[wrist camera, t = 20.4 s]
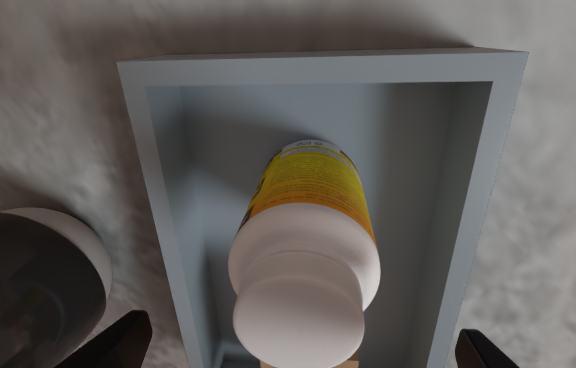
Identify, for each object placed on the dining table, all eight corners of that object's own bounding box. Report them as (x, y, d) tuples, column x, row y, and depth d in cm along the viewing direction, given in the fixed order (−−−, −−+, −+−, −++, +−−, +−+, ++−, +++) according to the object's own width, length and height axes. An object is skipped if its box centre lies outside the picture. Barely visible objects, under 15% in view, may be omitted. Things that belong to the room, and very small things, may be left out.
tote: (410, 370, 26) (426, 432, 22) (218, 355, 28) (199, 411, 24) (476, 46, 16) (529, 52, 12) (164, 54, 17) (116, 61, 13)
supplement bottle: (262, 134, 18) (194, 245, 8) (364, 138, 17) (411, 260, 8) (264, 220, 20) (213, 380, 11) (354, 226, 20) (381, 398, 10)
